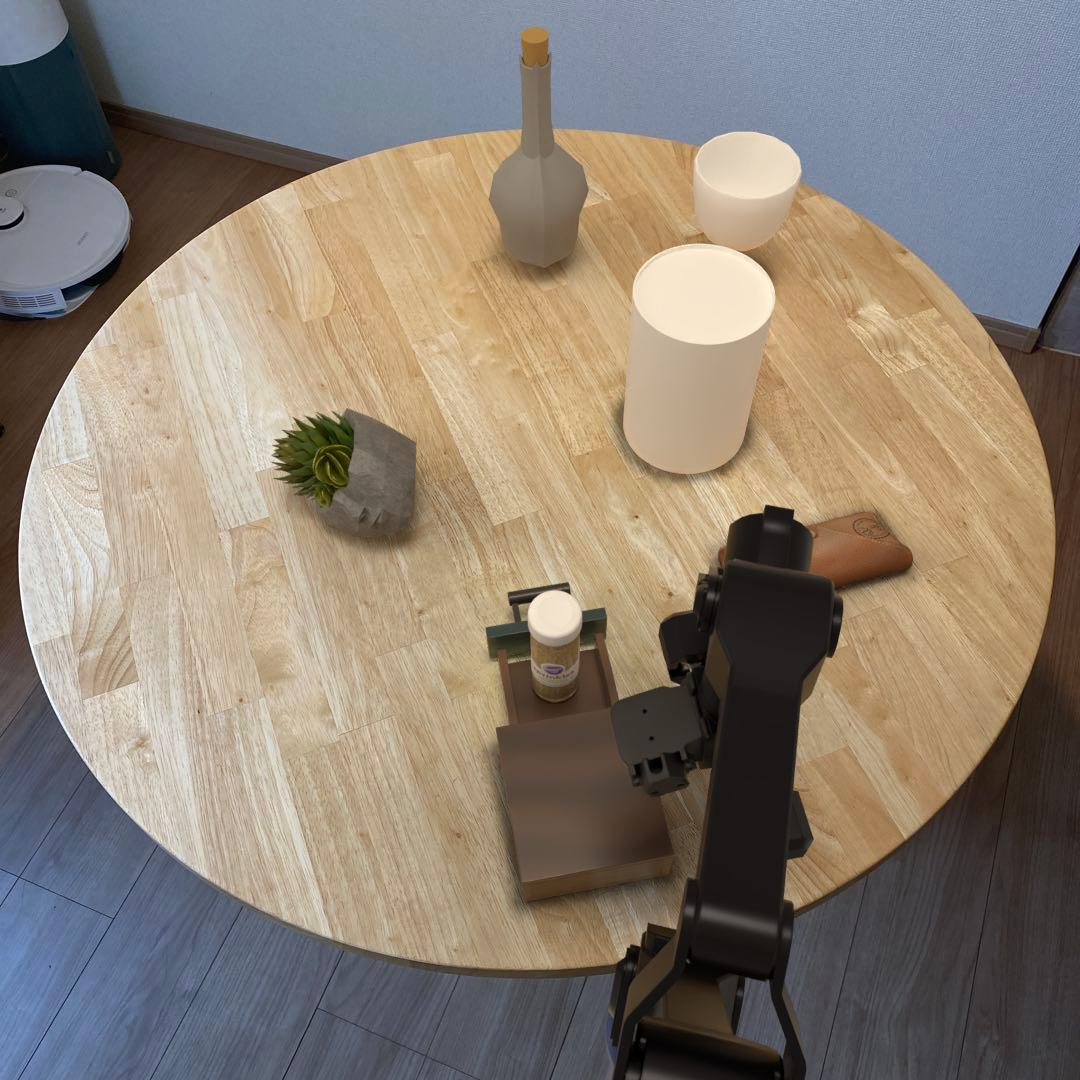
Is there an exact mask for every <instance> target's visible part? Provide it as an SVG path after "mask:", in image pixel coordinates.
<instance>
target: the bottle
mask: <svg viewBox="0 0 1080 1080" xmlns="http://www.w3.org/2000/svg"><path fill="white" fill-rule="evenodd" d="M549 37H550V33H549V31H548V30H547V29H545V28H543V27H540V26H532V27H531V26H529V27H528V28H525V29H523V30H522V31H521V32H520V43H521V53H522V54H518V63H519V72H520V73H519V74H520V84H521V86H520V87H521V90H520V91H521V111H522V112H521V113H522V114H521V115H522V125H521V136H520V145H518V147H517V148H516V149H515V150H514V151H513V152H512V153H511V154H510V155H509V156H507V158H505V159H503V161H502V162H501V164H500V165H499V167H498V168H497V169H496V170H495V172H494V173H493V174H492V180H491V186H490V190H489V195H488V201H489V203H490V206H491V208H492V210H493V213H494V215H495V217H496V219H497V221H498V224H499V229H500V237H501V238H500V239H501V243H502V247H503V248H504V249H505V250H507V251H508V252H509V254H510V255H511V256H512V257H513V258H515V259H517V260H518V261H520V262H522V263H527V264H530V265H533V266H537V267H540V268H543V269H545V268H548V267H549V266H551V265H553V264H554V263H557V262H558V261H560V260H563V259H565V258H566V257H567V256H568V255H569V254H570V253H571V252H572V251H573V248H574V247H575V245H576V242H577V240H578V237H579V225H580V216H581V213H582V211H583V208H584V205H585V203H586V200H587V198H588V194H589V192H590V189H589V185H588V182H587V177H586V173H585V168H584V166H583V164H581V163H580V162H579V161H578V160H577V159H575V158H574V157H573V155H571V154H569V153H568V152H567V151H566V150H565V149H564V148H563V147H561V146H560V145H559V144H558V143H557V142H556V141H555V135H554V129H553V128H554V127H553V122H552V85H551V83H552V81H551V77H552V75H551V74H552V55H553V52H552V51H549V40H550V39H549Z"/></svg>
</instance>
